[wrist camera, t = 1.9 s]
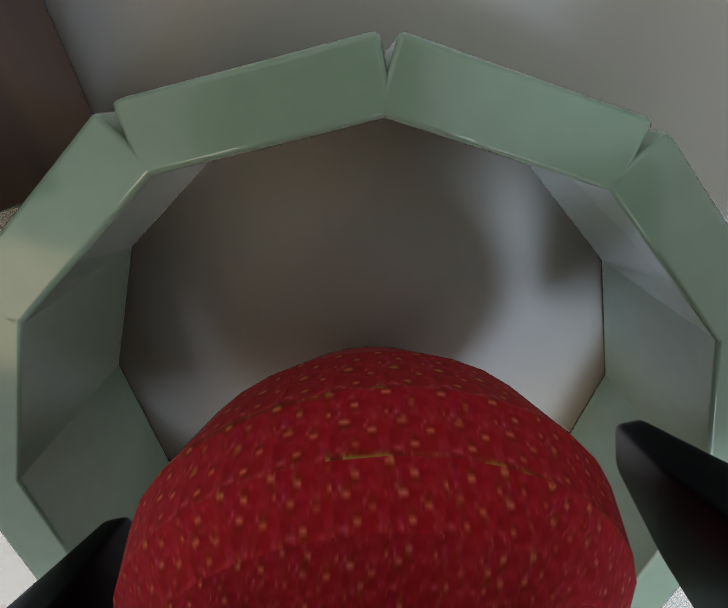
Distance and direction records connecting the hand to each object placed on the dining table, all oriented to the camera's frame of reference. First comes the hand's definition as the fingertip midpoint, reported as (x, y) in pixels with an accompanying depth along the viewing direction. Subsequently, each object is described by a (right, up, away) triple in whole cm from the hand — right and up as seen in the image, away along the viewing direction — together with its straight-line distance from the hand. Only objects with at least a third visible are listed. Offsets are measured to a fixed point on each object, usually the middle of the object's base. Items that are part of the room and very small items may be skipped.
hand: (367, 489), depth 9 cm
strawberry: (0, +2, +4) cm, 4 cm away
